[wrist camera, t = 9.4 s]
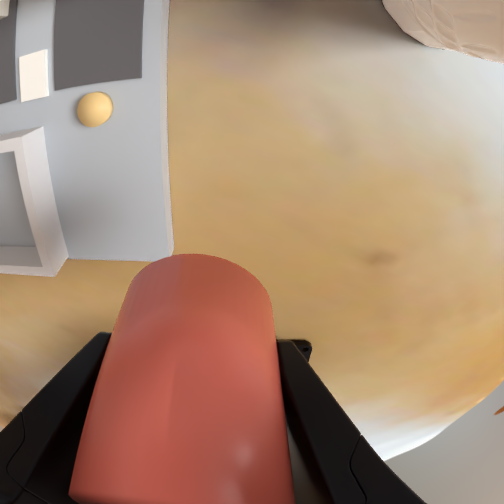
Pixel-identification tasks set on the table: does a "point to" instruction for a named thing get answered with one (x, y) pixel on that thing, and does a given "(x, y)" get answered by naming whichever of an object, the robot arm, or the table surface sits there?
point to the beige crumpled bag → (454, 25)
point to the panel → (83, 133)
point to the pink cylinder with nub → (188, 394)
